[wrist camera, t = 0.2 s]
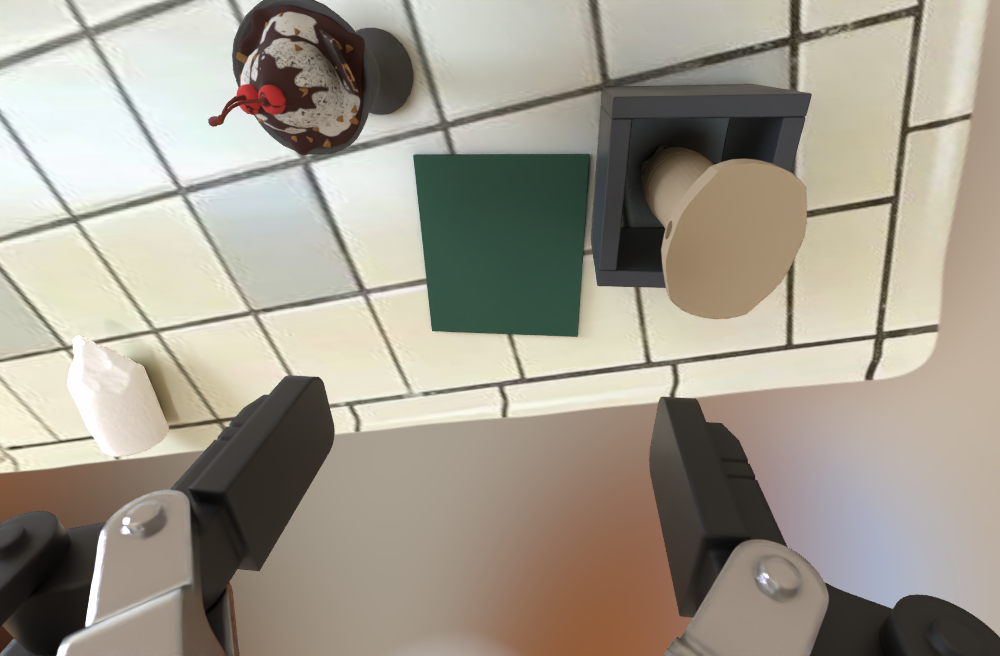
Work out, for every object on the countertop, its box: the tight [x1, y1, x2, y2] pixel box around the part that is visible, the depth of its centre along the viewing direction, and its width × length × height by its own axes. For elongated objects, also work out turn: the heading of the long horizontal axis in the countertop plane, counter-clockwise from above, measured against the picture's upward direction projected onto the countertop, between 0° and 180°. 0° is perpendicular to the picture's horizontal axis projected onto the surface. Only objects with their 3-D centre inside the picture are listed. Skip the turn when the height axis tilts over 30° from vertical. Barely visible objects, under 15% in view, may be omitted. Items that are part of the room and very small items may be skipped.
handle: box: [641, 145, 807, 319], centre depth 25 cm, size 5×6×15 cm
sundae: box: [208, 0, 413, 155], centre depth 25 cm, size 7×7×15 cm
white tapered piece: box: [67, 335, 169, 457], centre depth 44 cm, size 6×12×6 cm, turn 177°
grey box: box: [591, 84, 812, 288], centre depth 28 cm, size 10×9×8 cm
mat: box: [413, 154, 590, 337], centre depth 36 cm, size 14×12×1 cm
